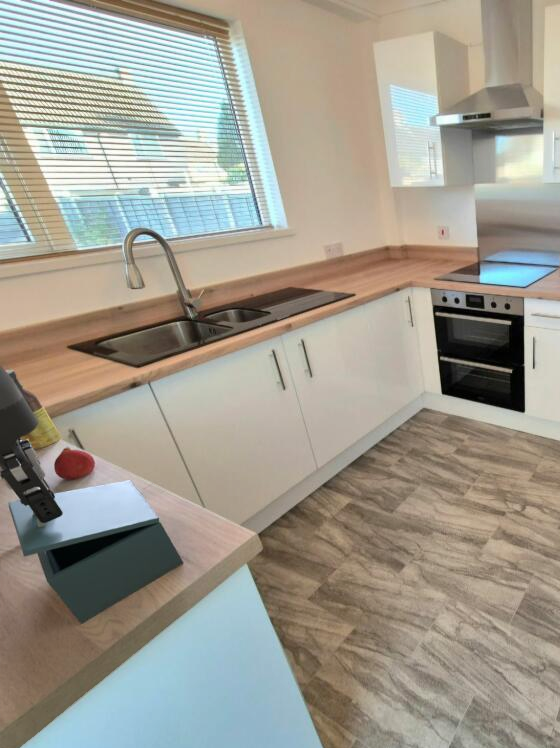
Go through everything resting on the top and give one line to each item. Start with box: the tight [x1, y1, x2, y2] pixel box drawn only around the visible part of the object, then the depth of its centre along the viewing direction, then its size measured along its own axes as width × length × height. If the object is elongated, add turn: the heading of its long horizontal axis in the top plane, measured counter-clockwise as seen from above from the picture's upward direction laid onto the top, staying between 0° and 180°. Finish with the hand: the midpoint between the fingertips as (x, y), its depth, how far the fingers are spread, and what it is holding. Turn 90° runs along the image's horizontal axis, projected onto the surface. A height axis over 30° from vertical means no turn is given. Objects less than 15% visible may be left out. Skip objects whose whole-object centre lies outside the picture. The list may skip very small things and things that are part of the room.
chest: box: [36, 520, 184, 625], centre depth 67 cm, size 13×16×9 cm
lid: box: [8, 479, 160, 557], centre depth 63 cm, size 14×16×5 cm
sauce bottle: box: [4, 369, 62, 451], centre depth 97 cm, size 7×6×20 cm
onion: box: [53, 446, 96, 481], centre depth 88 cm, size 6×6×8 cm
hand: (48, 509), depth 60 cm, fingers closed on lid, 5 cm apart
